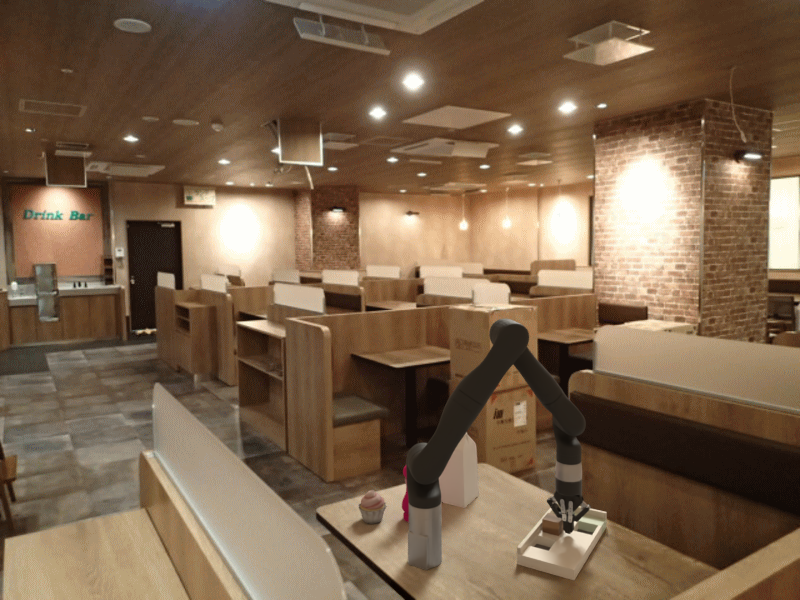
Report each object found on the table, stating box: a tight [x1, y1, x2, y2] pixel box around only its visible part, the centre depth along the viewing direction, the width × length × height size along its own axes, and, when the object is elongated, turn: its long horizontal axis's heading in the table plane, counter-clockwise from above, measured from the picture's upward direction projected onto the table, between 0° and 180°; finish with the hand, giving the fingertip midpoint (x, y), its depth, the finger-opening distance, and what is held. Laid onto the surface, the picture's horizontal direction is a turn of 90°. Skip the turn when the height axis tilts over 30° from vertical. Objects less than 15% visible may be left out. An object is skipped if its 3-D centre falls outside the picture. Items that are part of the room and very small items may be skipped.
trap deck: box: [516, 502, 608, 581], centre depth 183 cm, size 34×16×5 cm, turn 148°
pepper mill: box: [401, 464, 409, 523], centre depth 201 cm, size 7×7×20 cm
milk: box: [439, 431, 480, 509], centre depth 215 cm, size 12×12×26 cm
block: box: [542, 513, 563, 536], centre depth 186 cm, size 5×5×4 cm
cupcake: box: [358, 489, 388, 525], centre depth 201 cm, size 9×9×10 cm
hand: (568, 532), depth 183 cm, fingers closed
